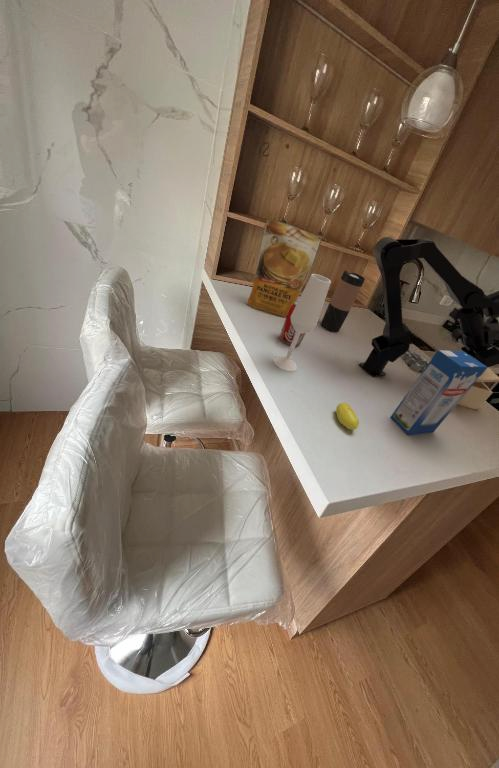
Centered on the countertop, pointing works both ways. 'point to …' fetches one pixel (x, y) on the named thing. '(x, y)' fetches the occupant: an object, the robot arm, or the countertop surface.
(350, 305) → the travel mug
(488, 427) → the countertop surface
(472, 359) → the milk carton
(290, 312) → the soda can
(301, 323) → the champagne flute
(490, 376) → the lid
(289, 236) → the pancake mix bag
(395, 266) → the robot arm
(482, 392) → the cardboard box
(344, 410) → the lemon
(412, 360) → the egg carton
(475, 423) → the countertop surface
